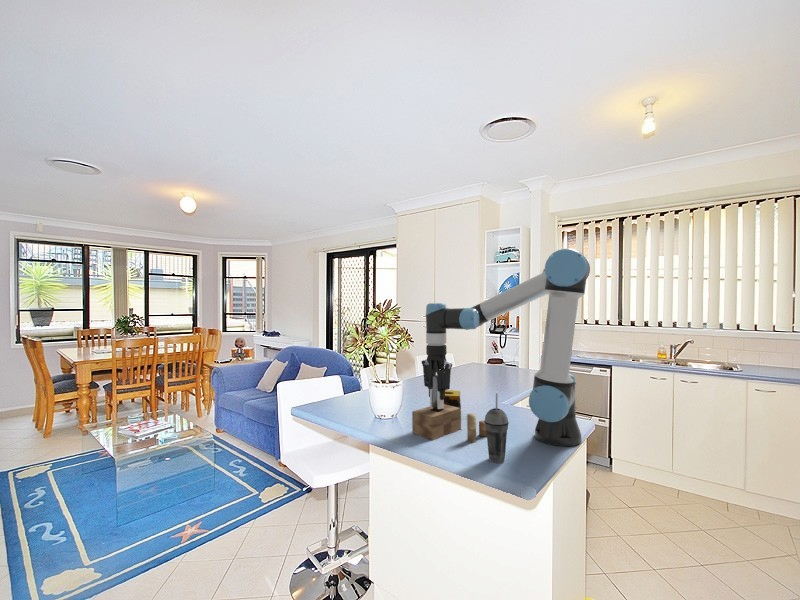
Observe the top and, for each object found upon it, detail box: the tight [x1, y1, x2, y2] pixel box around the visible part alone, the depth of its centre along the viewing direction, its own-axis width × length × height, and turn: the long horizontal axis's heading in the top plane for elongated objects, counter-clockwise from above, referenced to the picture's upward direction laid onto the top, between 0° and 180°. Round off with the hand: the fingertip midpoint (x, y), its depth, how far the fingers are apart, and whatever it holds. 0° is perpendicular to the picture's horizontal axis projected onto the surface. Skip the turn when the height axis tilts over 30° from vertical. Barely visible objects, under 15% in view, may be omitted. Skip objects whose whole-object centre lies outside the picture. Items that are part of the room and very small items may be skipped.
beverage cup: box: [483, 393, 510, 464], centre depth 118 cm, size 7×7×20 cm
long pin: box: [433, 375, 441, 412], centre depth 144 cm, size 3×3×16 cm
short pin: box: [478, 420, 487, 438], centre depth 139 cm, size 3×3×5 cm
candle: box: [444, 389, 462, 409], centre depth 163 cm, size 10×10×10 cm
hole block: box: [411, 404, 462, 441], centre depth 144 cm, size 10×16×8 cm, turn 134°
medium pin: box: [466, 413, 477, 443], centre depth 134 cm, size 3×3×9 cm
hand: (436, 407), depth 144 cm, fingers closed on long pin, 3 cm apart
